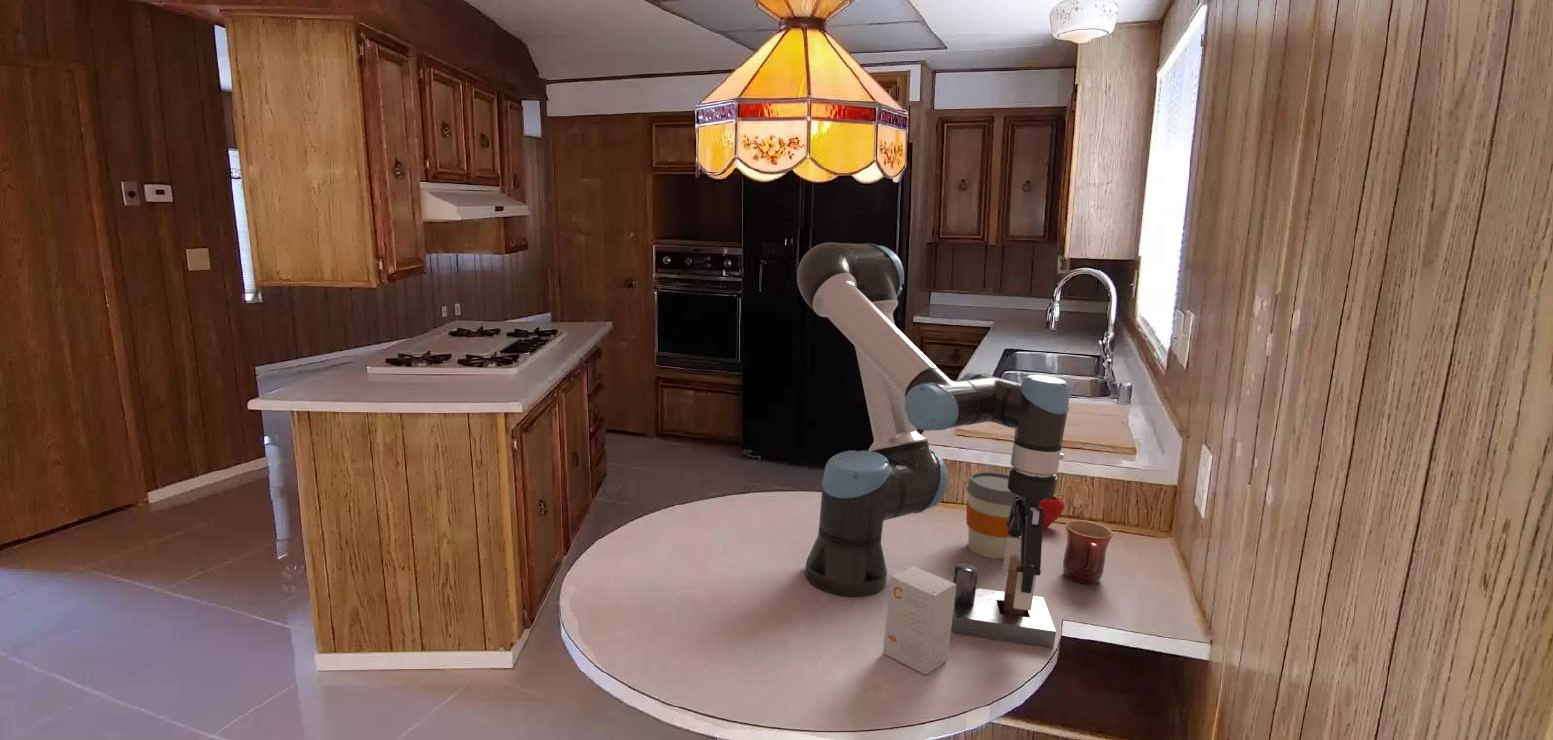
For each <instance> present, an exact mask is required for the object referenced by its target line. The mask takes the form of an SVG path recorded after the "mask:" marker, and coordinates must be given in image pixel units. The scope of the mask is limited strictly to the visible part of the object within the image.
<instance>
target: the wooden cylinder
mask: <svg viewBox="0 0 1553 740" xmlns="http://www.w3.org/2000/svg"><path fill="white" fill-rule="evenodd" d="M1029 566H1031V565H1029ZM1017 567H1021V555H1012V556H1011V557H1010V562H1009V568H1008V572H1007V577H1006V583H1005V590H1004V592H1005V596H1004V602H1003V609H1002V614H1007V615H1014V616H1021V617H1024V613H1025V610H1022V609H1015V608H1013V603H1014V596H1015V589H1016V582H1017V576H1018V572H1016V568H1017Z"/></svg>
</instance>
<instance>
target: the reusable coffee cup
mask: <svg viewBox="0 0 1553 740" xmlns="http://www.w3.org/2000/svg"><path fill="white" fill-rule="evenodd" d="M1008 478H1009V474H1006V473H1001V472H994V471H993V472H992V471H977V472H975V473H972V474H971V475H970V476H969V479H968V484H967V487H966V491H967V492H968V500H967V501H966V524H967V526H968V545H967V546H968V548H969V550H970V551H972V552H973V553H974V554H976V553H977V554H976V555H979V556H982V557H986V558H989V557H990V559H997V558H1002V559H1004V557H1005V550H1006V543H1007V536H1010V535H1008V533H1007V530H1008V527H1007V525H1006V524H1007V521H1008V517H1009V514H1010V510H1011V506H1012V502H1013V499H1014V495H1015V494H1014V493H1012V492H1011V491H1010V490H1009V489H1008Z"/></svg>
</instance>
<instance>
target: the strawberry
mask: <svg viewBox="0 0 1553 740" xmlns="http://www.w3.org/2000/svg"><path fill="white" fill-rule="evenodd" d="M1061 496H1063V494H1060V493H1056V492H1055V494H1054V496H1053V497H1052V498H1050V499H1044V500H1041V501H1040V507H1042V509H1043V512H1044V515H1045V517H1044V520H1043V528H1049V527H1050V526H1051V525H1052V524H1053V523H1055V521H1057V519H1058V518H1059V517H1061V516H1062V513H1063V511H1064V510H1065V501H1064V500H1063V499H1062V498H1061Z"/></svg>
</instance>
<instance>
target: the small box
mask: <svg viewBox="0 0 1553 740" xmlns="http://www.w3.org/2000/svg"><path fill="white" fill-rule="evenodd" d="M890 577H891V579H890V585H889V586H890V587H889V596H888V605H887V611H886V612H887V613H886V623H885V629H884V630H885V631H884V639H883V648H882V654H883V655H886V656H888V657H889V658H892V659H894V660H896V661H897V662H900V663H901V664H903V665H905V666H907V667H909V668H911V669H913V670H915V671H917V672H918V673H920V674H923V675H924V676H926V675H928V674H929V673H931V672H933V671H935V669H937V668H938V667H940V666H941V665H942V664H944V663H946V662H947V661H948V657H949V651H950V641H951V633H952V627H953V624H952V617H953V610H954V601H955V593H956V584H955V583H953V581H950V580H947V579H945V578H942V577H940V576H937V575H935V574H933V573H930V572H928V571H925V570H923V569H921V568H919V567H917V566H912V567H909V568H906V569H905V570H903V571H901V572H898V573H895V574H894V575H892V576H890Z"/></svg>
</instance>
